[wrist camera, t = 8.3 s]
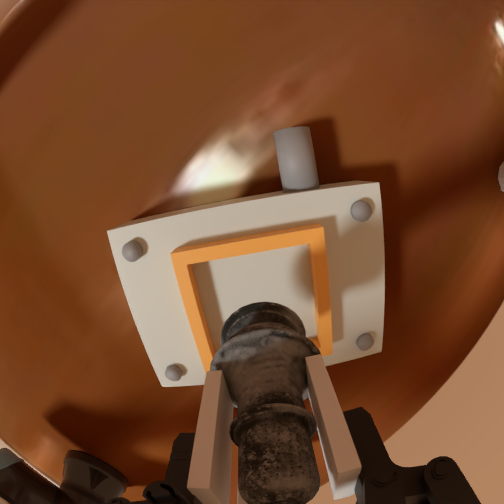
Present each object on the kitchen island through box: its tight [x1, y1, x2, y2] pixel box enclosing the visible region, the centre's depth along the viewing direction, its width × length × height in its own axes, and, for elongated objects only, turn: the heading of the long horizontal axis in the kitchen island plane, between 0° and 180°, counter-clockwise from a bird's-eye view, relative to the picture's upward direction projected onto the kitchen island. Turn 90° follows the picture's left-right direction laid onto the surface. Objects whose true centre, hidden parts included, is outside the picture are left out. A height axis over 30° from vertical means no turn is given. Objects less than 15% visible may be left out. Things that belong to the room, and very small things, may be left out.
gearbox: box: [107, 126, 385, 387], centre depth 23 cm, size 22×21×6 cm
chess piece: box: [210, 302, 321, 504], centre depth 11 cm, size 6×6×12 cm
